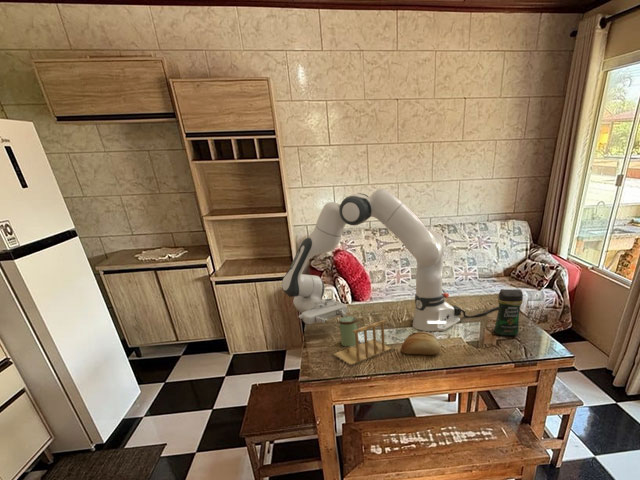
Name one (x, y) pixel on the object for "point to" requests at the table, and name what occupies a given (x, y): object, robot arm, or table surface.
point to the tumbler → (347, 330)
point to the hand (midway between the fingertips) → (334, 318)
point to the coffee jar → (508, 312)
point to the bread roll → (421, 344)
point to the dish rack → (364, 345)
